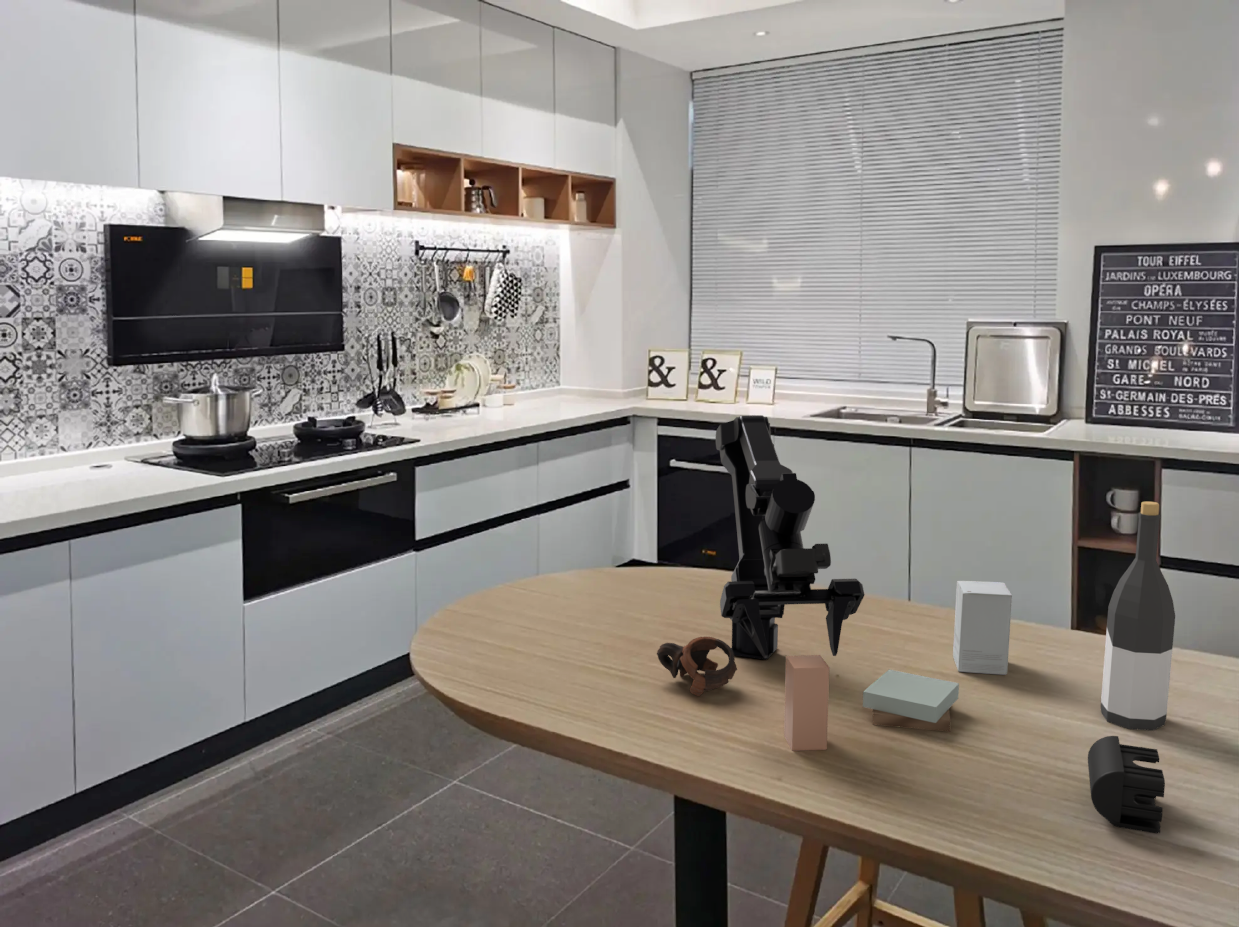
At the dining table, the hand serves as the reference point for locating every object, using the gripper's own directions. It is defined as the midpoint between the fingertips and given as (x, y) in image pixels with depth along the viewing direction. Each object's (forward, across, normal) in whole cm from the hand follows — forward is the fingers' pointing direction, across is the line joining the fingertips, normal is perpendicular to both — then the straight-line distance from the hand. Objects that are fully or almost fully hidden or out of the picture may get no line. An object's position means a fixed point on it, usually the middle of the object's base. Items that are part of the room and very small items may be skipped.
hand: (800, 655), depth 138 cm
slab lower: (+4, +17, +11) cm, 21 cm away
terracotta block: (+10, 0, +5) cm, 11 cm away
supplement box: (-8, +34, +23) cm, 42 cm away
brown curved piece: (-5, -11, +20) cm, 24 cm away
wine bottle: (+7, +46, +8) cm, 47 cm away
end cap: (+24, +31, -9) cm, 40 cm away
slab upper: (+3, +17, +10) cm, 20 cm away
